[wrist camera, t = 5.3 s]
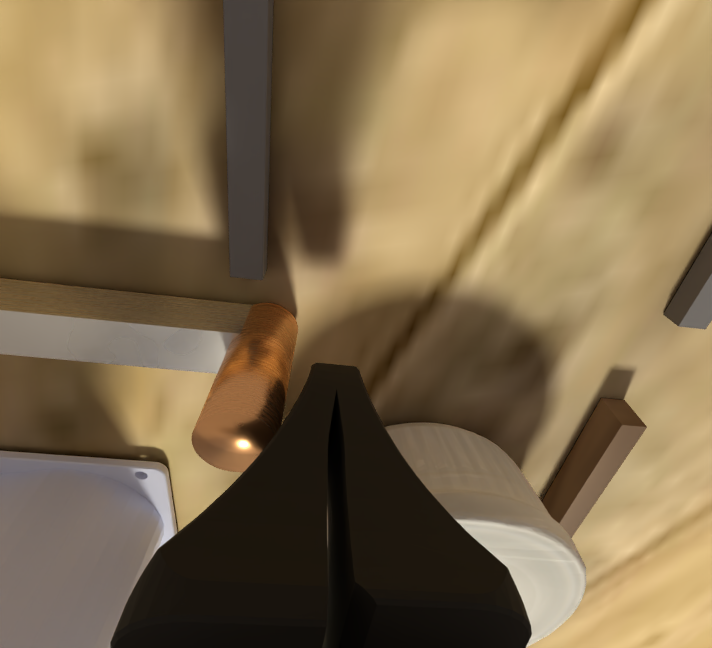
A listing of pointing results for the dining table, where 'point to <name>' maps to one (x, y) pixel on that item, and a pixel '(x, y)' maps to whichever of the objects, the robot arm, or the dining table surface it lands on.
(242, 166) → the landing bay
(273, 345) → the brown cylinder with bar
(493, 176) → the dining table surface
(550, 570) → the ramekin
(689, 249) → the dining table surface
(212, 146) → the dining table surface
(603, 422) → the frame
